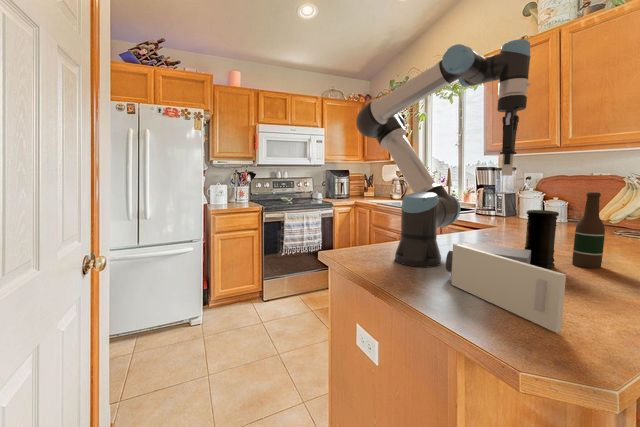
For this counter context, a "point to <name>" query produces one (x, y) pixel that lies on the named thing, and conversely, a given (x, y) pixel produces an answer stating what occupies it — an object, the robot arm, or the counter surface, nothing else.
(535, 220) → the container
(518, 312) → the side door
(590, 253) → the beer bottle
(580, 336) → the counter surface
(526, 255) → the camera case
